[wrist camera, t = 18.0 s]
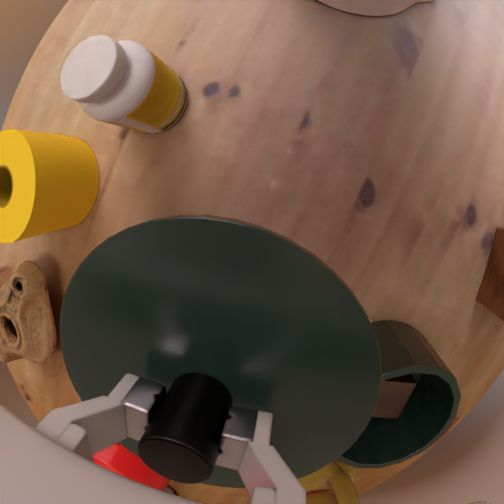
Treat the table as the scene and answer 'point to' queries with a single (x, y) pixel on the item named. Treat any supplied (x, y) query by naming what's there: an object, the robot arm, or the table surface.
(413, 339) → the tin
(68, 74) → the pill bottle
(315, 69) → the table surface
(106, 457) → the teapot
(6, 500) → the robot arm
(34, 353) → the oil lamp
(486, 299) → the stand
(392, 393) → the block
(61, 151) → the yellow cylinder with hole
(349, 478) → the figurine
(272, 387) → the tin lid
